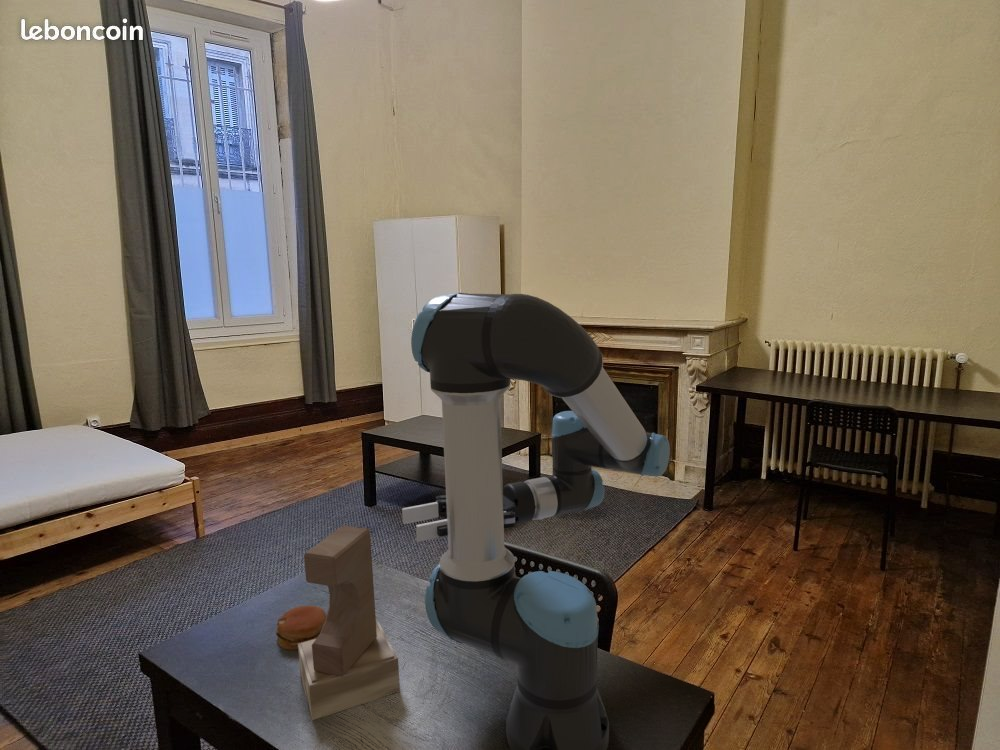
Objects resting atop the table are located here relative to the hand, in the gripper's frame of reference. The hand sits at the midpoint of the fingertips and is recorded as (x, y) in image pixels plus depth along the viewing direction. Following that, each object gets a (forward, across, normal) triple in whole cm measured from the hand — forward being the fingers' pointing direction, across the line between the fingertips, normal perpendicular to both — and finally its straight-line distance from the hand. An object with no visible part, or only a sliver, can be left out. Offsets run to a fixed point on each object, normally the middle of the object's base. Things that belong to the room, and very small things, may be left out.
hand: (410, 524), depth 105 cm
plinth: (+12, -1, -25) cm, 28 cm away
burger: (+17, +16, -26) cm, 35 cm away
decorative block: (+13, -3, -19) cm, 23 cm away
